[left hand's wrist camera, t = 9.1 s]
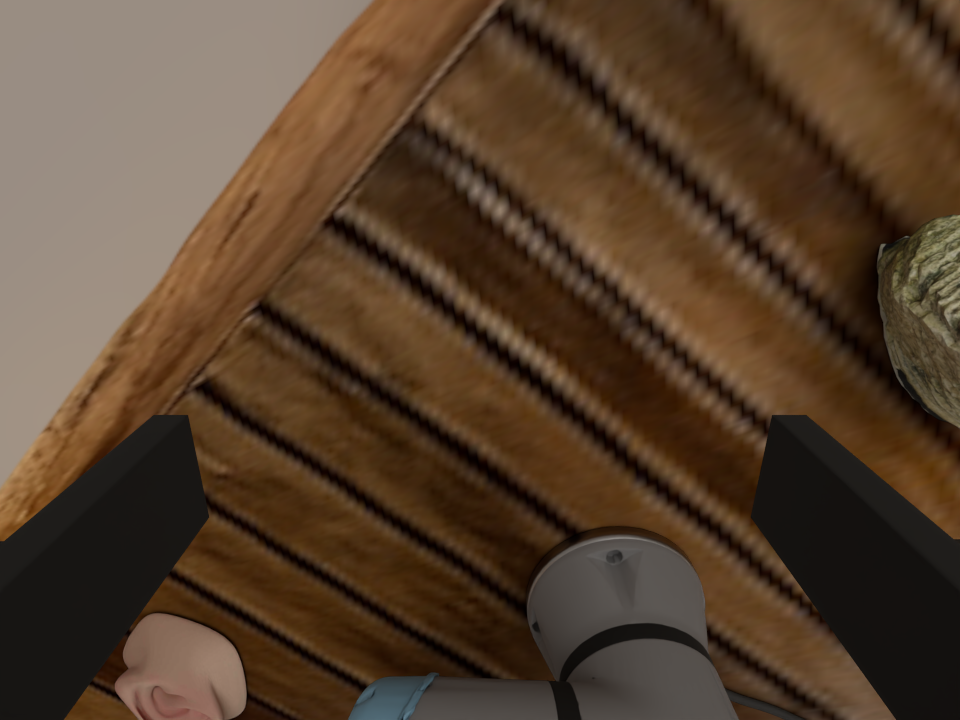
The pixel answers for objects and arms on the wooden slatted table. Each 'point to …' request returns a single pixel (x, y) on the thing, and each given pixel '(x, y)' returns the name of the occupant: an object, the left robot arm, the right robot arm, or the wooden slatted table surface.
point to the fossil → (924, 314)
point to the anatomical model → (181, 672)
